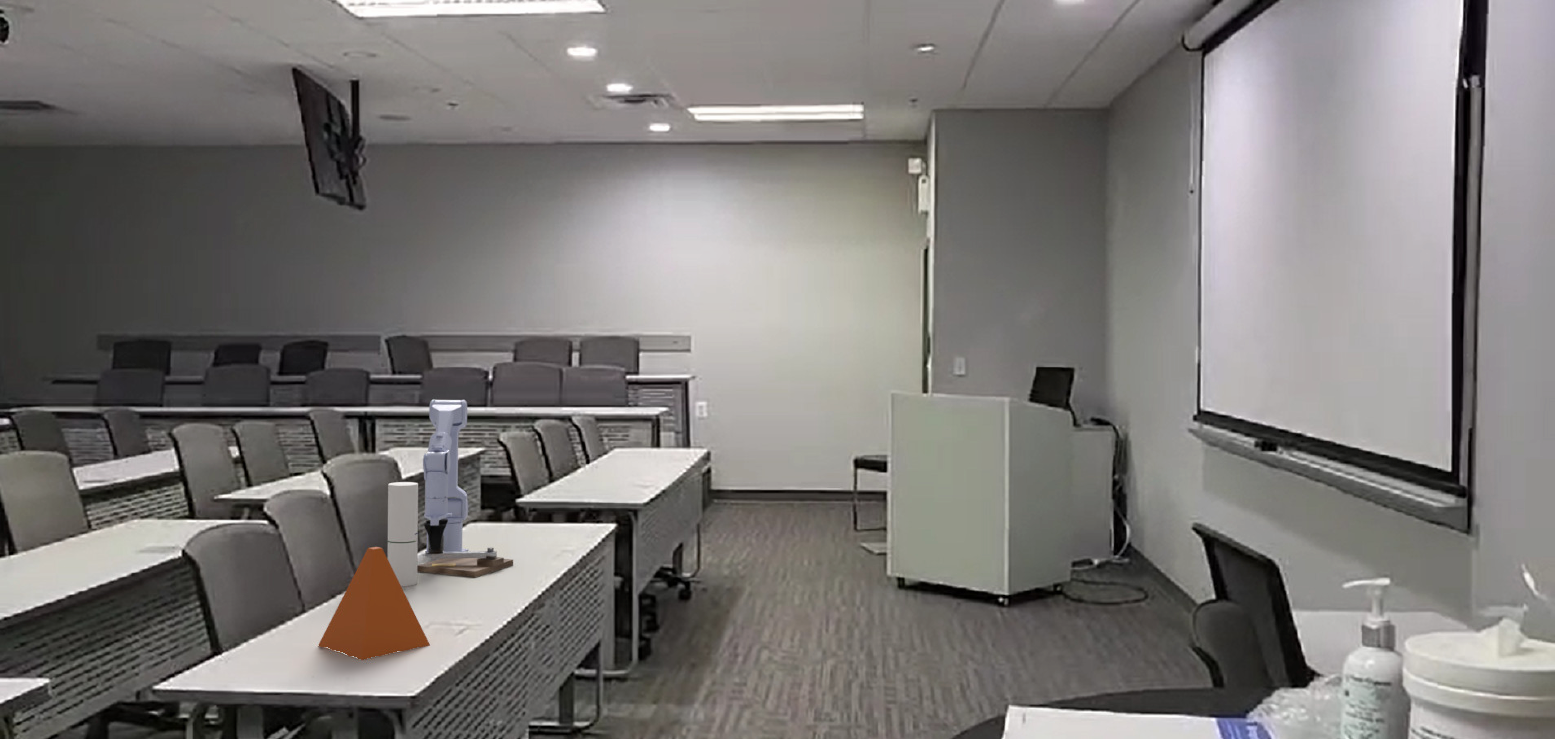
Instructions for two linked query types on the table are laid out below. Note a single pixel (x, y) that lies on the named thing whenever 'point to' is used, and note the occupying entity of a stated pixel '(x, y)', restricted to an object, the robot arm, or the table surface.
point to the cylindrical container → (403, 531)
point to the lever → (460, 553)
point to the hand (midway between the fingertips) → (435, 548)
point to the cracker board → (465, 566)
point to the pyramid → (374, 613)
